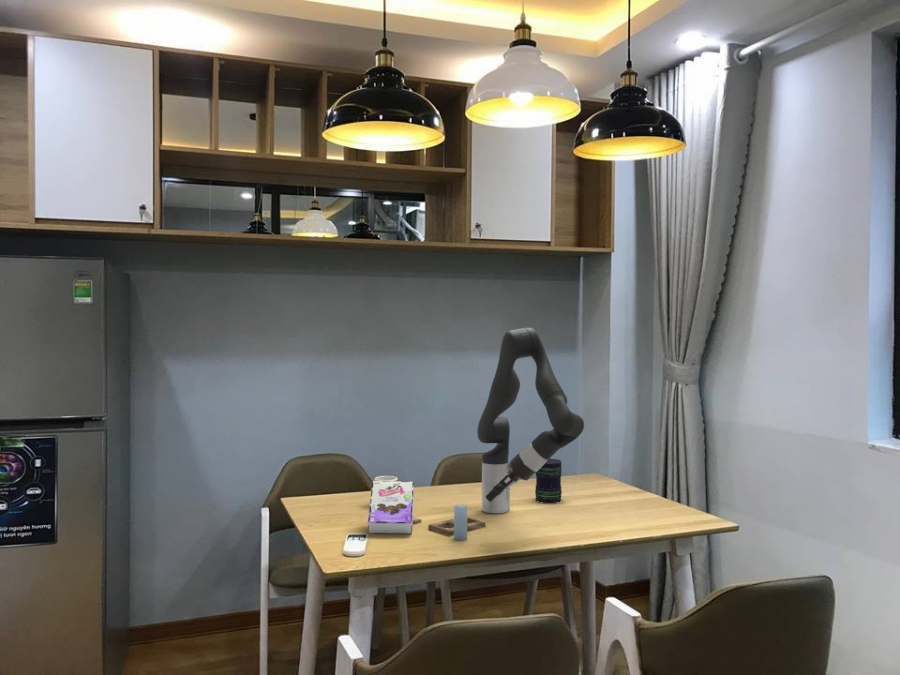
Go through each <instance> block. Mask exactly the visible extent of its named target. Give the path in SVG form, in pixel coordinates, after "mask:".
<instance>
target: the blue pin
mask: <svg viewBox="0 0 900 675" xmlns="http://www.w3.org/2000/svg"><path fill="white" fill-rule="evenodd" d="M453 507H454V508H453V512H454V513H453V519H454V535H453V539H454V540H456V541H466V540H467V539H468V531H467V524H468V523H467V517H468V505H466V504H454V506H453Z"/></svg>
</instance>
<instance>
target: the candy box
mask: <svg viewBox="0 0 900 675" xmlns="http://www.w3.org/2000/svg"><path fill="white" fill-rule="evenodd" d="M414 485H415V484H414V481H397V482H387V481H375V480H373V481H372V482H371V490H370V491H371V492H370V500H369V501H370V502H369V509H368V517H367V518H368V519H367V528H368V533H369V534H409V535H410V534H412V533H413V525H412V522H413V517H414V502H415V501H414V500H415V498H414V497H415V487H414Z"/></svg>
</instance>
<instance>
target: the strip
mask: <svg viewBox="0 0 900 675" xmlns="http://www.w3.org/2000/svg"><path fill="white" fill-rule="evenodd" d="M420 523H421V524H422V519H421V518H418V517H414V516H413V522H412V526H413V525H416V524H420Z"/></svg>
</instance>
